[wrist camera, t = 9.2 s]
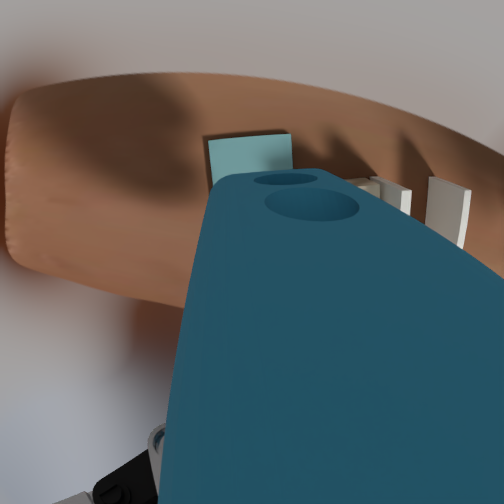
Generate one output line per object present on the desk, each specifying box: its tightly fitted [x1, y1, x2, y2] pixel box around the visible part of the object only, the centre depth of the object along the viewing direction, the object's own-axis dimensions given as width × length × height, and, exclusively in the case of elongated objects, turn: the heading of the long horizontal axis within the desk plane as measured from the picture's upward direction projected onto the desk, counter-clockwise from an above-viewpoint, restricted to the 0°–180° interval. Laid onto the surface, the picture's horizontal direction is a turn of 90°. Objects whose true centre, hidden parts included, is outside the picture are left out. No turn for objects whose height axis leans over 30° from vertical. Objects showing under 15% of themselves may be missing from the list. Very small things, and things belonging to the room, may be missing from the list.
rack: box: [370, 176, 471, 249], centre depth 25 cm, size 16×11×6 cm
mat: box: [208, 134, 293, 186], centre depth 26 cm, size 7×13×1 cm, turn 5°
